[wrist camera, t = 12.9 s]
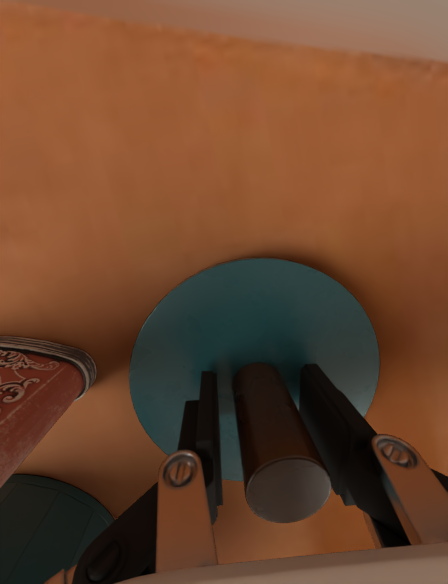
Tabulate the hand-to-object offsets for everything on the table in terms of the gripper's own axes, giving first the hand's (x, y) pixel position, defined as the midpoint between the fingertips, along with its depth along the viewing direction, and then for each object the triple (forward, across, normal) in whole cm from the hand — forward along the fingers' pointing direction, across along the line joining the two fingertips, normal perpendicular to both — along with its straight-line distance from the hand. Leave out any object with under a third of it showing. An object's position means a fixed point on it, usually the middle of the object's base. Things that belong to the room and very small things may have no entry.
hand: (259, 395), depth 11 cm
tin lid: (+1, 0, 0) cm, 1 cm away
